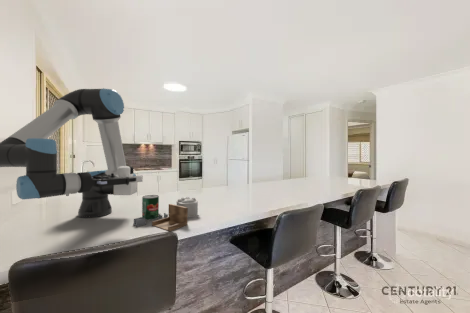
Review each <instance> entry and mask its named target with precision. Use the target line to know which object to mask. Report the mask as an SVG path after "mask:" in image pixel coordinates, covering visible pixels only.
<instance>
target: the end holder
mask: <svg viewBox="0 0 470 313" xmlns="http://www.w3.org/2000/svg"><path fill="white" fill-rule="evenodd" d="M188 218H189V217H188V207H183V206H178V205H177V204H174V203H169V204H168V217H166V218H163V219H159V220H158V219H155V220H151V226H153V227H155V226H156V227H155V228H159V229H161V230H165V231H168V232H171V231H175V230H178V229H181V228H183V227H186V226H188V223H189V221H188V220H189V219H188Z"/></svg>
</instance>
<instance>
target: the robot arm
mask: <svg viewBox="0 0 470 313" xmlns="http://www.w3.org/2000/svg"><path fill="white" fill-rule="evenodd" d="M124 109H125V102H124V100H123V98H122V96H121V94H119V92H118V91H117V90H115V89H111V88H104V87H103V88H79V89H75V90H73V91H70V92H69V93H66V94H64V95H63V96H61V97H60V98H58V99H57V100H56V101H54V102H53V106H51V107H50V108H49V109H47V110H46V111H44V112H43V113H41V114H40V115H39V116H37V117H36V118H34V119H32V120H31V121H30V122H28V123H27V124H26V125H23V127H21V128H20V129H19V130H17V131H15V132H14V133H12V134H11V135H9V136H8V137H7V138H4V140H2V141H1V142H0V168H25V171H26V172H25V174H24V175H20V176H18V177H17V179H16V184H15V185H16V186H15V188H16V195H17V197H18V198H19V199H20V200H33V199H42V198H50V197H51V198H52V197H57V196H59V197H60V196H65V197H69V196H70V195H74V194H75V195H76V194H77V193H78V194H81V196H82V197H81V198H82V199H81V202H80V205H79V208H78V212H77V215H78V216H77V217H79V218H85V219H87V218H97V217H103V216H107V215H109V214H111V213H112V212H113V209H112V205H111V202H110V200H109V195H111V196H114V195H113V185H122V184H127V185H128V184H129V183H135V182H137V183H141V182H142V183H143V180H144V179H143V175H136V173H135V172H133V176H129V177H119V176H118V167H120V166H127V161H126V156H125V152H124V148H123V140H122V137H121V136H122V135H121V130H120V124H119V120H120V119H121V117H122V116H121V114H123V113H124V111H125V110H124ZM84 115H91V117H92V120H93V121H94V122H96V123H97V125H98V126H97V127H98V130H99V137H100V140H101V145H102V150H103V153H104V157H105V158H104V159H105V161H106V162H105V163H106V167H107V169H104V170H103V169H101V170H94V171H83V172H77V173H76V172H65V173H57V172H58V170H57V169H58V168H57V167H58V150H57V142H56V140H54V139H52V138H50V137H51V136H52V135H53V134H54V133H55V132H57V131H58V130H59V129H60V128H61V127H63V126H64V125H65V124H66V123H68V122H70V120H75V119H77V118H78V117H79V116H84ZM117 177H119V178H117Z"/></svg>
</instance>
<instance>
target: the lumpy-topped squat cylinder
mask: <svg viewBox="0 0 470 313" xmlns="http://www.w3.org/2000/svg"><path fill="white" fill-rule="evenodd" d="M198 203H199V202H198V200H197V199H196V197H191V198H190V196H186V197H183V196H182V197H181V198H178V199H177V201H176V205H178V206H183V207H188V218H191V217H192V218H193V217H198V214H199V213H198V210H199V208H198V206H199V204H198Z"/></svg>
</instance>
